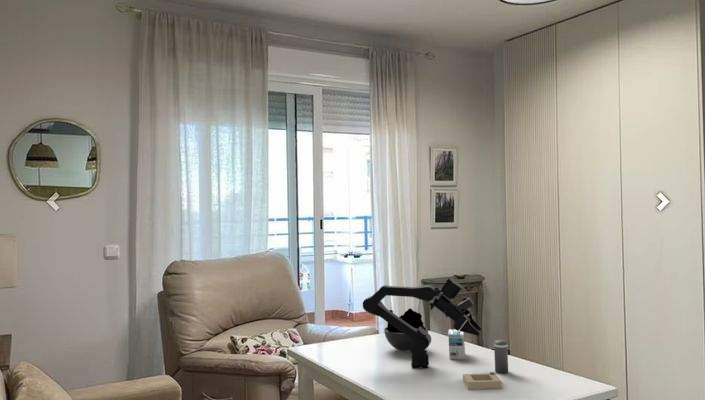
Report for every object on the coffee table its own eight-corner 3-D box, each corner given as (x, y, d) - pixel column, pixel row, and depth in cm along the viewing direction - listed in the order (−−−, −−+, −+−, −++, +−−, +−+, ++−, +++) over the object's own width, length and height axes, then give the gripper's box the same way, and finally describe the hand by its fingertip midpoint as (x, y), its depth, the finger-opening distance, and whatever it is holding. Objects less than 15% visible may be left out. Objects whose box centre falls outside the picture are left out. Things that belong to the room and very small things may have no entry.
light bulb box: (465, 359, 237) (464, 334, 237) (449, 359, 238) (448, 334, 238) (465, 353, 247) (464, 329, 247) (449, 353, 248) (448, 328, 249)
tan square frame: (468, 389, 198) (467, 380, 198) (462, 380, 208) (462, 372, 208) (501, 388, 198) (501, 379, 198) (494, 379, 208) (494, 371, 208)
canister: (496, 374, 215) (495, 342, 215) (493, 370, 220) (492, 339, 220) (510, 373, 215) (509, 342, 215) (506, 369, 220) (505, 339, 220)
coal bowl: (435, 348, 258) (434, 307, 258) (416, 358, 241) (415, 315, 241) (397, 343, 269) (396, 304, 269) (376, 353, 252) (375, 311, 252)
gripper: (457, 295, 215) (490, 321, 212) (462, 288, 233) (493, 312, 229) (440, 318, 217) (473, 343, 213) (446, 309, 235) (477, 333, 231)
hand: (479, 332), depth 222 cm, fingers open, 9 cm apart
